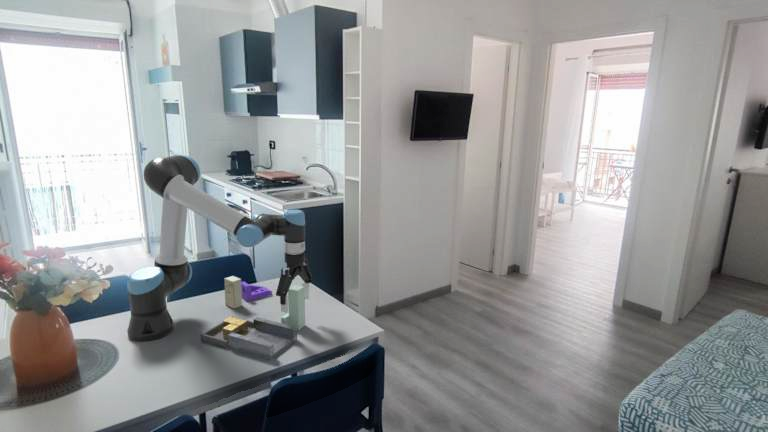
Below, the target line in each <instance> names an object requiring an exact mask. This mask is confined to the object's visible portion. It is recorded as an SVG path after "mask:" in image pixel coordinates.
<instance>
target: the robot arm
mask: <svg viewBox="0 0 768 432" xmlns="http://www.w3.org/2000/svg"><path fill="white" fill-rule="evenodd" d="M200 177H201V169H200V166H199V164H198V162H196V160H195V159H194V158H192V157H190V156H189V155H185V154H182V155H181V154H174V155H170V156H163V157H157V158H156V157H155V158H154V159H151V160H150V161H149V162H147V164H146V166H145V167H144V169H143V180H144V182H145V184H146V185H147V187H148V188H149V189H150V190H151V192H152V191H153V192H154V193H155V194H156V195H158V196H160V197H161V198H162V206H161V207H162V208H161V224H160V240H159V241H160V242H159V253H158V255H156V256H155V257H154V264H153V265H154V266H146V267H143V268H139V269H137V270H134V271H133V272H131V273H130V274H129V275H128V277H127V281H126V282H127V286H126V289H127V293H128V301H129V310H130V319H129V322H128V323H129V324H128V327H127V337H128V339H130V340H131V341H135V342H149V341H155V340H158V339H161V338H163V337H166V336H168V335H169V334H171V333H172V332H173V331H174V328H175V325H174V320H173V318H172V315H170V312H169V310H168V308H167V306H168V305H167V299H166V298H167V297H168V296H170V295H172V294H173V293H175V292H176V291H178V290H180V289H182V288H184V287H185V286H186V285H187V284H188V283H189V281H190V280H191V279H192V276H193V267H192V265H191V264H190V261H188V259H189V258H188V257H187V256H186V255H185V243H186V231H187V221H188V219H187V218H188V210H189V211H192V212H193V213H195V214H197V215H199V216H201V217H202V218H203V219H206V220H208V221H210V222H211V223H212V224H215V225H216V226H218V227H220V228H221V229H223V230H225V231H227V232H229V233H230V234H232V235H233V236H236V240H237V241H238V243H239V245H240V246H242V247H244V248H253V247H255V246H257V245H259V244H260V243H261V242H263V241H264V240H266V239H267V238H269V237H271V236H280V237H281V236H283V239H284V243H283V244H284V245H283V247H284V248H283V249H284V263H285V264H286V268H281V269H280V270H281V271H280V278H279V281H278V285H277V288H276V292H275V295H276V296H277V297H279V298H280V299H279V304H280V312H281V313H285V314H287V313H288V312H289V307H288V290H289V288H290V287H291V284H292V283H293V281H294V280H295V278H296V277H297V276H299V277H300V278H301V280H302V282H301V286H303V287H304V289H305V299H306V300H309V299H310V284H312V283H313V279H314V278H313V277H314V276H313V274H312V272H311V269H310V265H309V259H306V252H305V251H306V219H305V218H306V216H305V212H304V211H303V210H301V209H287V210H285V211H283V214H268V213H264V212H263V213H255V214H254V215H252V217H251V218H250V217H249V216H246V215H245V214H243V213H242V212H239V211H238V210H236V209H234V208H233V207H231V206H230V205H228V204H226V203H224V202H223V201H220V200H219V199H217V198H215V197H214V196H212V195H210V194H208V193H207V192H205V191H203V189H200V188H199V187H196V186H195V184H196V183H197V182H198V181H199V180H200Z"/></svg>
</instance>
